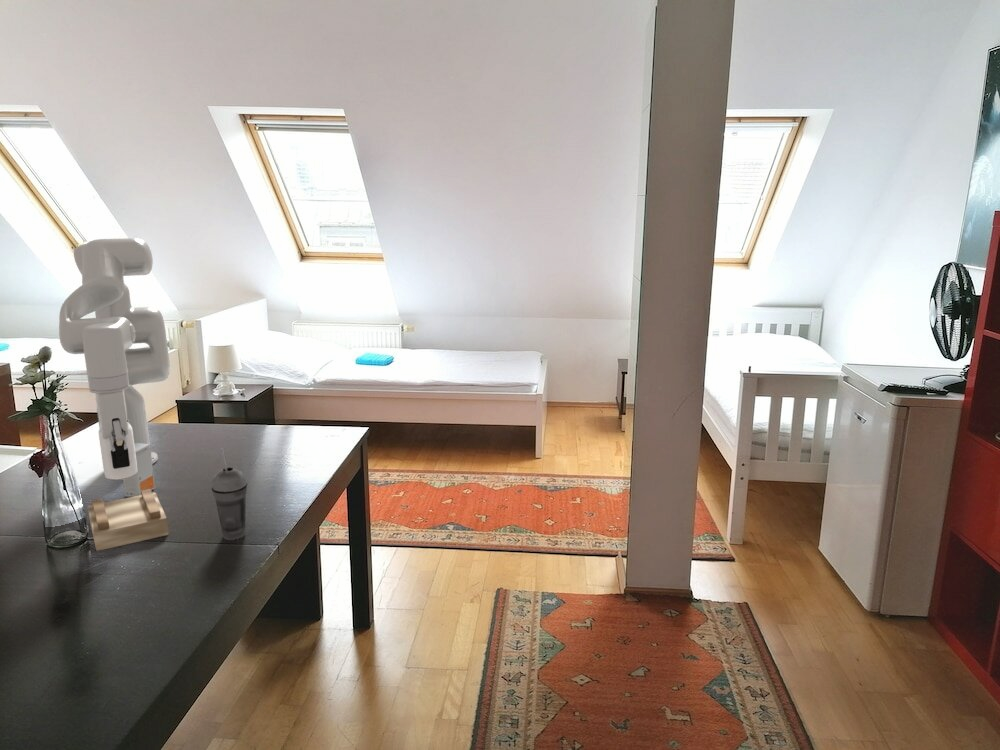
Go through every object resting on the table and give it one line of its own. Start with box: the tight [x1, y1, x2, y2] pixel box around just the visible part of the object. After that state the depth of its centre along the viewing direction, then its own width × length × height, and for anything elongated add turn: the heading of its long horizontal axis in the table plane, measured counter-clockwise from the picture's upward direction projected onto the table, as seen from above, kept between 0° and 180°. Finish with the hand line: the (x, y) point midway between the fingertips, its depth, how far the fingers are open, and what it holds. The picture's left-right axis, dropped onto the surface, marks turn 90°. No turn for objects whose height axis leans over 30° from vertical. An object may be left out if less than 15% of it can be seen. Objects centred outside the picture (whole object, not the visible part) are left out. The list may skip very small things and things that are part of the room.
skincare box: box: [122, 443, 156, 498], centre depth 180 cm, size 6×4×12 cm
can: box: [98, 420, 138, 481], centre depth 158 cm, size 6×6×12 cm
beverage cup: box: [211, 447, 248, 541], centre depth 157 cm, size 7×7×20 cm
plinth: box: [87, 489, 169, 552], centre depth 162 cm, size 16×14×6 cm
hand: (119, 461), depth 159 cm, fingers closed on can, 6 cm apart
